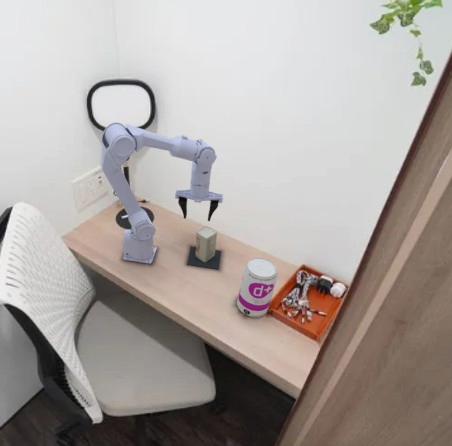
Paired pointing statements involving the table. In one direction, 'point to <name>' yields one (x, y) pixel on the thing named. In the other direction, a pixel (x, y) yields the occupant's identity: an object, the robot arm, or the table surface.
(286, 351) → the table surface
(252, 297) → the supplement can
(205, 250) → the product carton box
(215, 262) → the pad
